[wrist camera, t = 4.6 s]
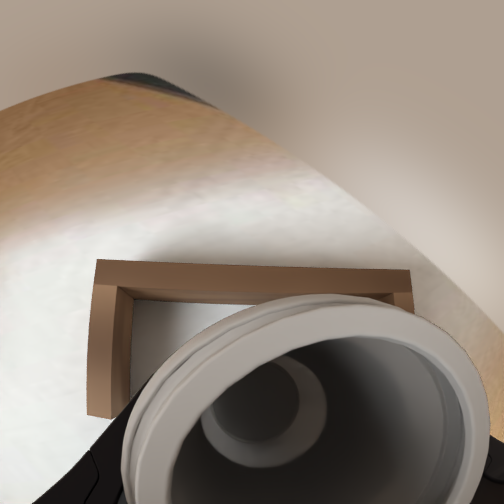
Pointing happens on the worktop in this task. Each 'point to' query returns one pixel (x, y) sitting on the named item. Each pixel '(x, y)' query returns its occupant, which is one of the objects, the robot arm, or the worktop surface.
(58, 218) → the worktop surface
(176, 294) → the cubby
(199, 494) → the cup
